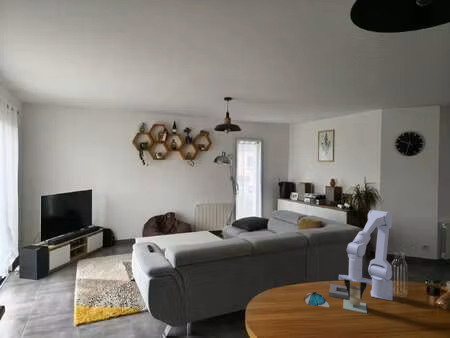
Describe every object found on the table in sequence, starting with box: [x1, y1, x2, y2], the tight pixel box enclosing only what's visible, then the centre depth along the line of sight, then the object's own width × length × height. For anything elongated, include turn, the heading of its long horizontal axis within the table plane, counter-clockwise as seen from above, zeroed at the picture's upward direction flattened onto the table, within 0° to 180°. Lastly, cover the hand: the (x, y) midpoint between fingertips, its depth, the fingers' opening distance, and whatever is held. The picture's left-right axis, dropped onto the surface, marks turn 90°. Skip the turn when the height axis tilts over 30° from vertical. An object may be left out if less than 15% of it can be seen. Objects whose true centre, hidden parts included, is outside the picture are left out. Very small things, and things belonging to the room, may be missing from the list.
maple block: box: [350, 284, 361, 305], centre depth 139 cm, size 4×4×7 cm
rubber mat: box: [342, 299, 368, 315], centre depth 139 cm, size 10×10×1 cm
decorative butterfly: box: [303, 291, 330, 308], centre depth 143 cm, size 10×6×10 cm
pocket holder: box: [328, 283, 350, 300], centre depth 153 cm, size 12×12×2 cm
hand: (354, 297), depth 139 cm, fingers closed on maple block, 4 cm apart
